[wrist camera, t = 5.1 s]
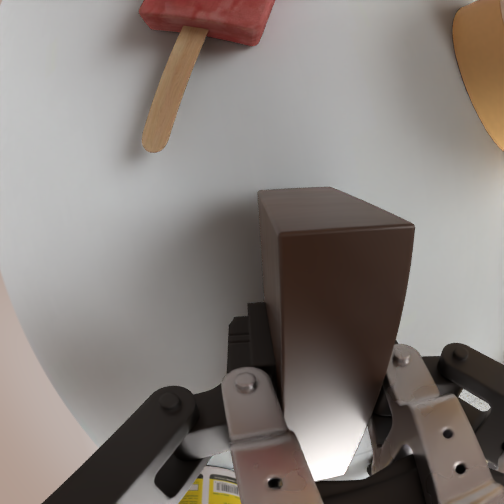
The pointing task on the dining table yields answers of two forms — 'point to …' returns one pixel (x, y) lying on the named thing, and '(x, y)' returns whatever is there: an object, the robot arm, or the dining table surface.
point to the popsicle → (194, 48)
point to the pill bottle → (213, 488)
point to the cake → (483, 61)
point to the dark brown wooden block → (331, 312)
